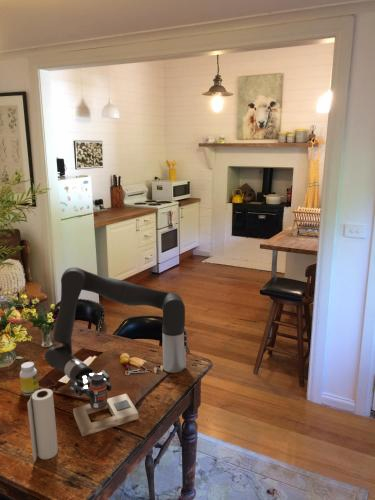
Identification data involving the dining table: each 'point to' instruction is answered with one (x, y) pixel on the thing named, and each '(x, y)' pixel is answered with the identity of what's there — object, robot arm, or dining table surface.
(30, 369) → the pill bottle
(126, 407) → the board
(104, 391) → the supplement bottle
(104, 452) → the dining table surface
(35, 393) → the paper towel roll
